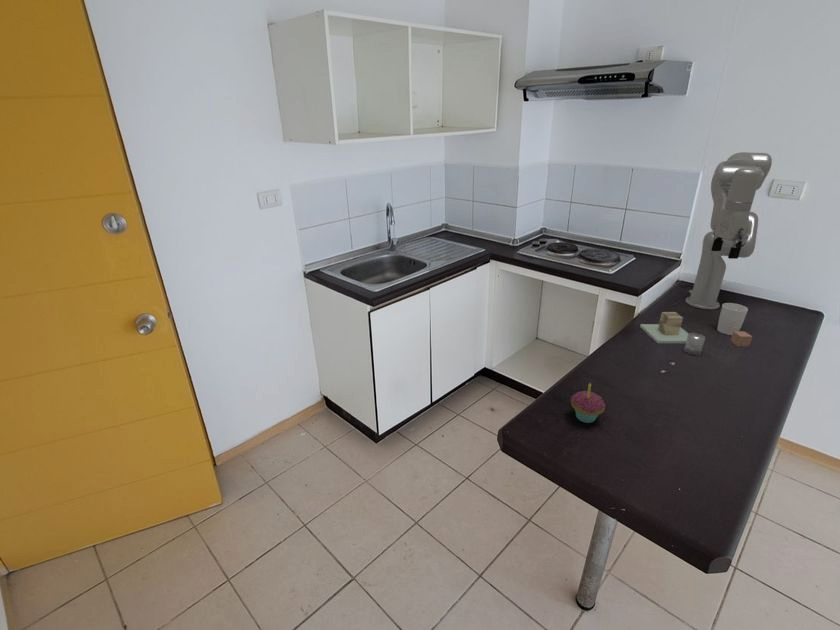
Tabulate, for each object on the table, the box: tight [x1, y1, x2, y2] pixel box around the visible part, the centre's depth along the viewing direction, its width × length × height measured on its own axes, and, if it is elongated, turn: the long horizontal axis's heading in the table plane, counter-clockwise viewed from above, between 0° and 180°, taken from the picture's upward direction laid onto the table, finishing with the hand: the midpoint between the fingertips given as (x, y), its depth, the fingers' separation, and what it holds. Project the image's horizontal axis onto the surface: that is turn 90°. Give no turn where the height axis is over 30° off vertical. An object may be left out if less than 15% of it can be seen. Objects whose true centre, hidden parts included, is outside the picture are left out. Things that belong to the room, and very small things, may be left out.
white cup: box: [716, 302, 749, 336], centre depth 163 cm, size 8×8×10 cm
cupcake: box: [570, 382, 606, 424], centre depth 115 cm, size 9×8×12 cm
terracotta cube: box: [730, 330, 753, 348], centre depth 155 cm, size 4×4×4 cm
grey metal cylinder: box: [683, 332, 706, 356], centre depth 150 cm, size 5×5×6 cm
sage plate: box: [639, 323, 689, 345], centre depth 163 cm, size 14×14×1 cm
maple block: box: [658, 311, 684, 335], centre depth 161 cm, size 5×5×7 cm
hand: (724, 254), depth 159 cm, fingers open, 9 cm apart
